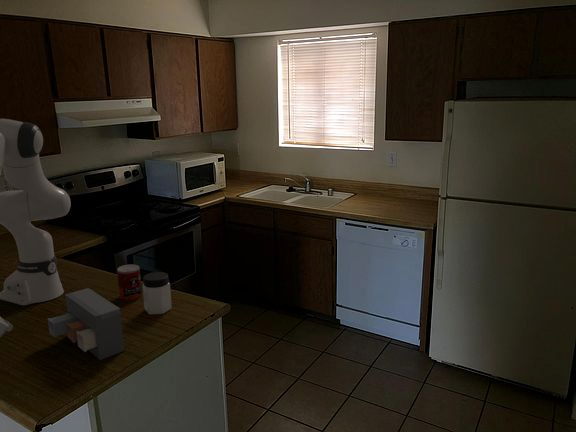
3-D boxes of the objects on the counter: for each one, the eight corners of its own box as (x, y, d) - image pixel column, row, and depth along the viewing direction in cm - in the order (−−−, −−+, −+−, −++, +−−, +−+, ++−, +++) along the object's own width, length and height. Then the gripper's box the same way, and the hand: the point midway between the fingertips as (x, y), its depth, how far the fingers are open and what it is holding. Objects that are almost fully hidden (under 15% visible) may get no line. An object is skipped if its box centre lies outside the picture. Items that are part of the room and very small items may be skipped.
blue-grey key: (55, 337, 139) (53, 323, 138) (49, 332, 142) (47, 318, 141) (81, 328, 144) (79, 315, 143) (75, 324, 147) (73, 310, 146)
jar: (173, 303, 169) (171, 271, 166) (170, 313, 161) (167, 280, 158) (146, 304, 168) (144, 272, 165) (142, 315, 160) (139, 281, 157)
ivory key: (84, 352, 131) (83, 337, 130) (78, 346, 134) (76, 331, 133) (111, 342, 136) (109, 327, 135) (104, 336, 139) (103, 322, 138)
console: (100, 360, 133) (95, 316, 130) (70, 334, 148) (65, 294, 145) (124, 350, 138) (120, 308, 135) (92, 326, 153) (88, 288, 149)
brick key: (74, 343, 136) (72, 328, 135) (68, 337, 139) (66, 323, 138) (100, 333, 141) (98, 319, 140) (93, 328, 144) (92, 315, 143)
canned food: (124, 303, 170) (122, 273, 167) (116, 296, 176) (113, 267, 173) (145, 297, 174) (143, 268, 172) (136, 290, 180) (134, 262, 178)
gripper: (-19, 306, 117) (30, 330, 126) (-39, 283, 131) (7, 306, 140) (-38, 329, 115) (14, 351, 124) (-56, 303, 129) (-9, 325, 138)
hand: (10, 327), depth 132 cm, fingers closed
